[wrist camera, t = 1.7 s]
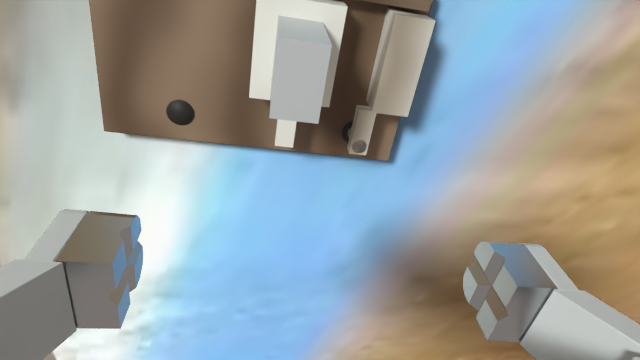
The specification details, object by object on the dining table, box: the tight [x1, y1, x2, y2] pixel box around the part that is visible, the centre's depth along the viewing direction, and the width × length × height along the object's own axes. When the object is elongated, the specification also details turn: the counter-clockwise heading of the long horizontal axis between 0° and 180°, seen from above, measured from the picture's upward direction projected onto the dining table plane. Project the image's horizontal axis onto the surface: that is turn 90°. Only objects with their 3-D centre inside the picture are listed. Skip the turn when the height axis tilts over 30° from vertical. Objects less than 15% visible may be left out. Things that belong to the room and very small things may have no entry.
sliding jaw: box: [249, 0, 348, 148], centre depth 24 cm, size 5×9×7 cm, turn 171°
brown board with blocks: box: [89, 0, 436, 161], centre depth 26 cm, size 20×12×4 cm, turn 81°
